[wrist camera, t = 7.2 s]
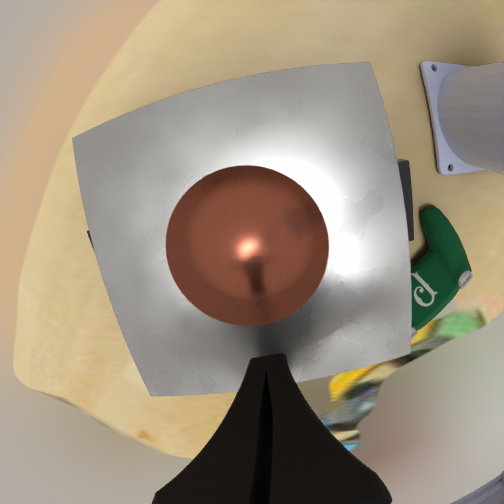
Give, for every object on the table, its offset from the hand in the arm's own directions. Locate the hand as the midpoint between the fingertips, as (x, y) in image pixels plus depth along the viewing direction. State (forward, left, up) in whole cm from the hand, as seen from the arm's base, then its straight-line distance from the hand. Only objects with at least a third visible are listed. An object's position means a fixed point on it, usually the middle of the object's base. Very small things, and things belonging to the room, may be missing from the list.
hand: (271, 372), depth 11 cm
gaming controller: (-10, +2, -10) cm, 14 cm away
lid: (0, -5, -2) cm, 5 cm away
